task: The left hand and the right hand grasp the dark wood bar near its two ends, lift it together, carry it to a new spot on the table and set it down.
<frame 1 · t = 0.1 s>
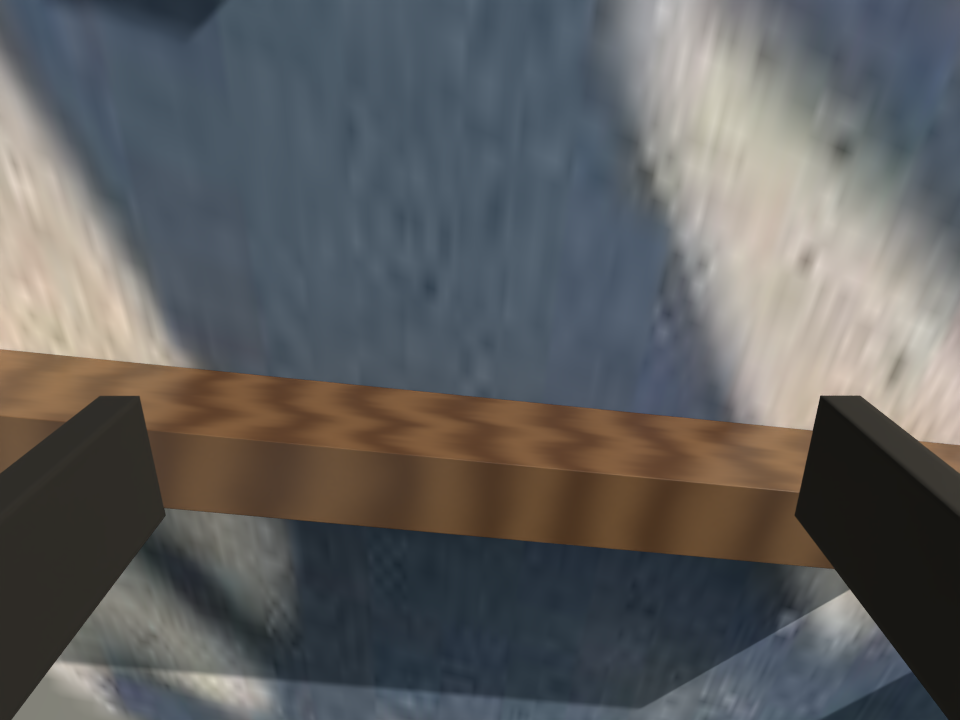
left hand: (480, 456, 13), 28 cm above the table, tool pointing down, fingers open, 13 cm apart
bar: (472, 429, 44), on the table
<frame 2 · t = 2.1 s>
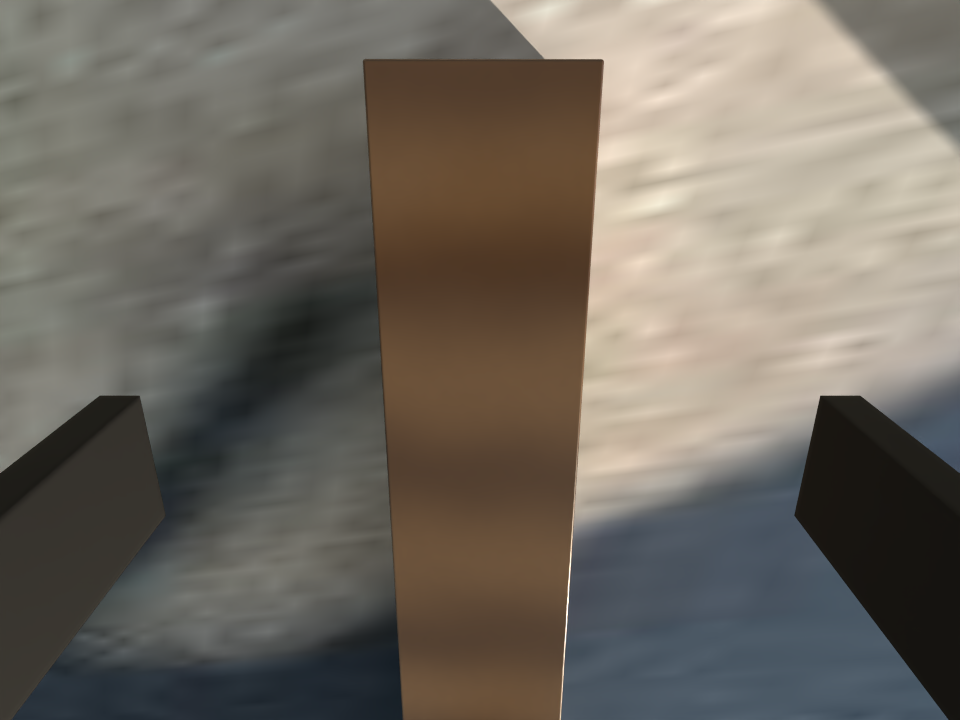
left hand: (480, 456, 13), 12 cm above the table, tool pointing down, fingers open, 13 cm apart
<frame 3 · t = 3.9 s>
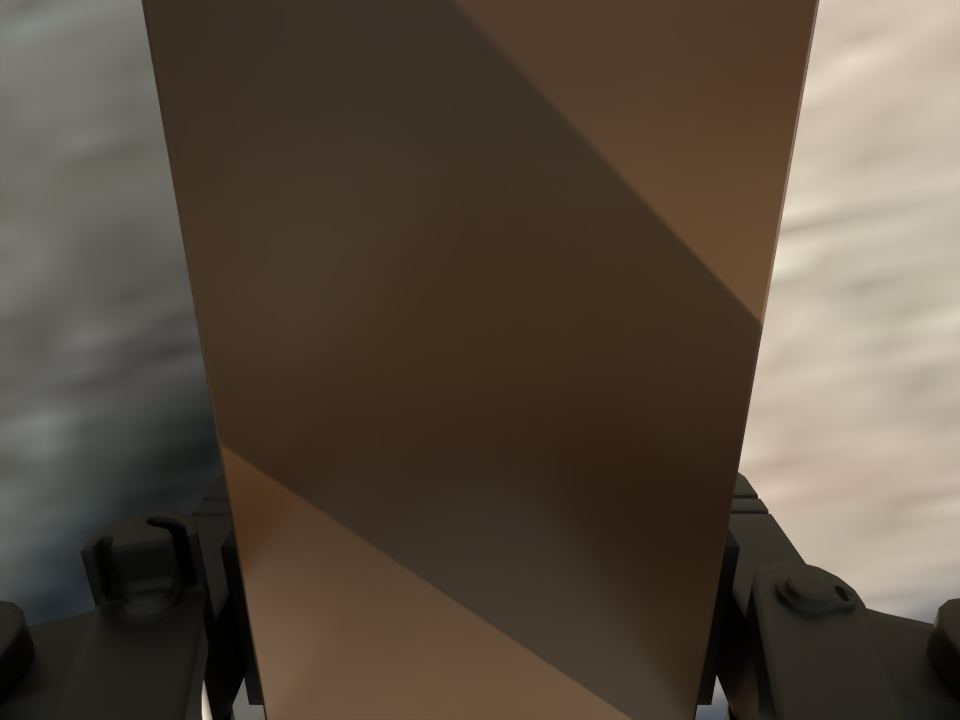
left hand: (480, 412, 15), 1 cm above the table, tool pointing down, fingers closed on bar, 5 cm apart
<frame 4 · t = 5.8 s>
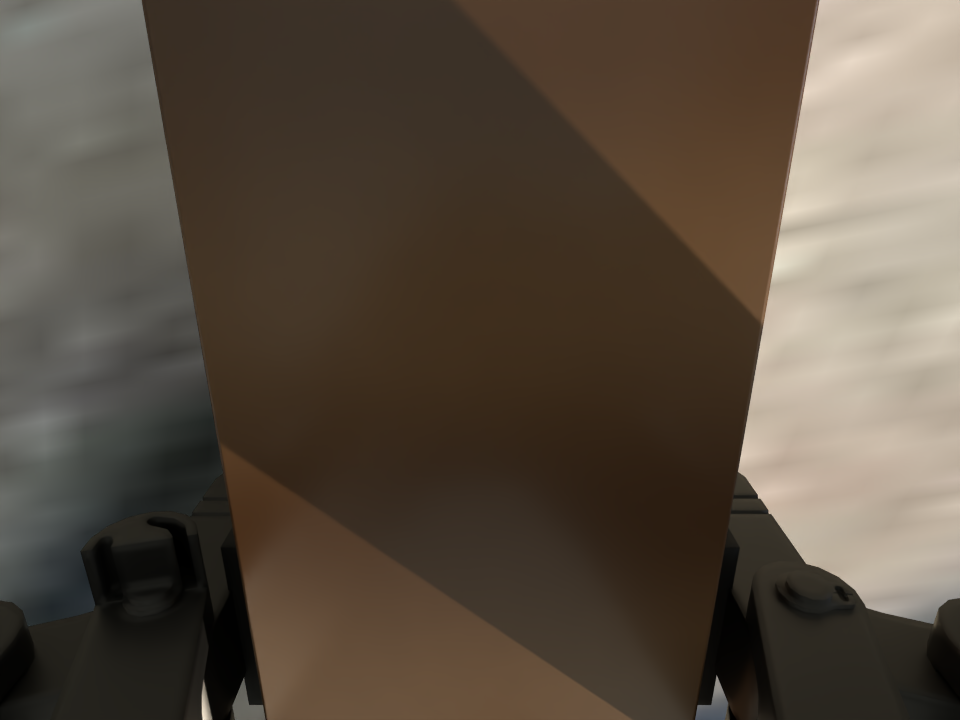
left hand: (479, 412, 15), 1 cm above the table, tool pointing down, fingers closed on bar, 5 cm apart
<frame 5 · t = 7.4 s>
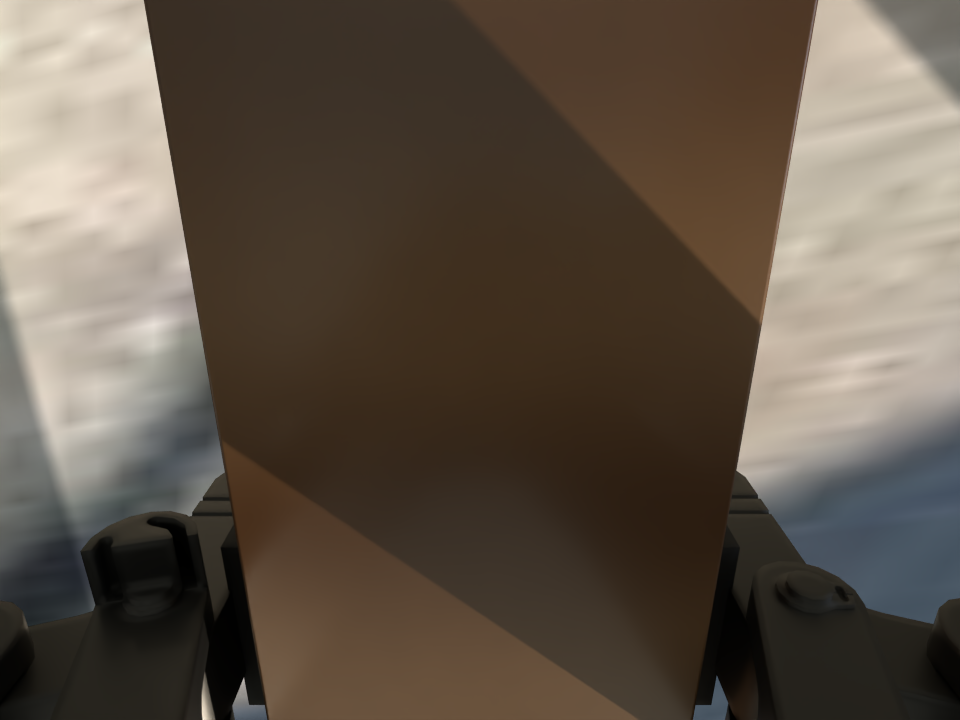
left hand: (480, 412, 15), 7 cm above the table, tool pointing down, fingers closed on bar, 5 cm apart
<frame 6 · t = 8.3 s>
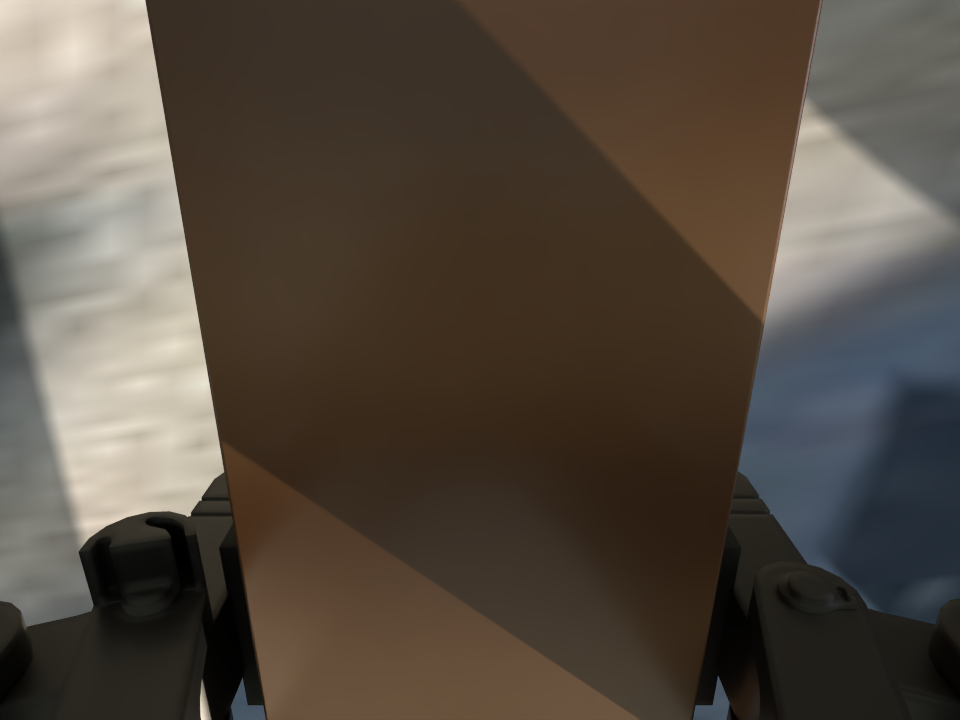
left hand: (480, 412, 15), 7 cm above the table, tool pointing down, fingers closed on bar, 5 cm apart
when the left hand's fingers open (2 cm above the table, at t = 10.9 s): bar drops 1 cm, on the table.
when the right hand's fingers open (5 cm above the table, at t = 11.1 s): bar stays where it is, on the table.
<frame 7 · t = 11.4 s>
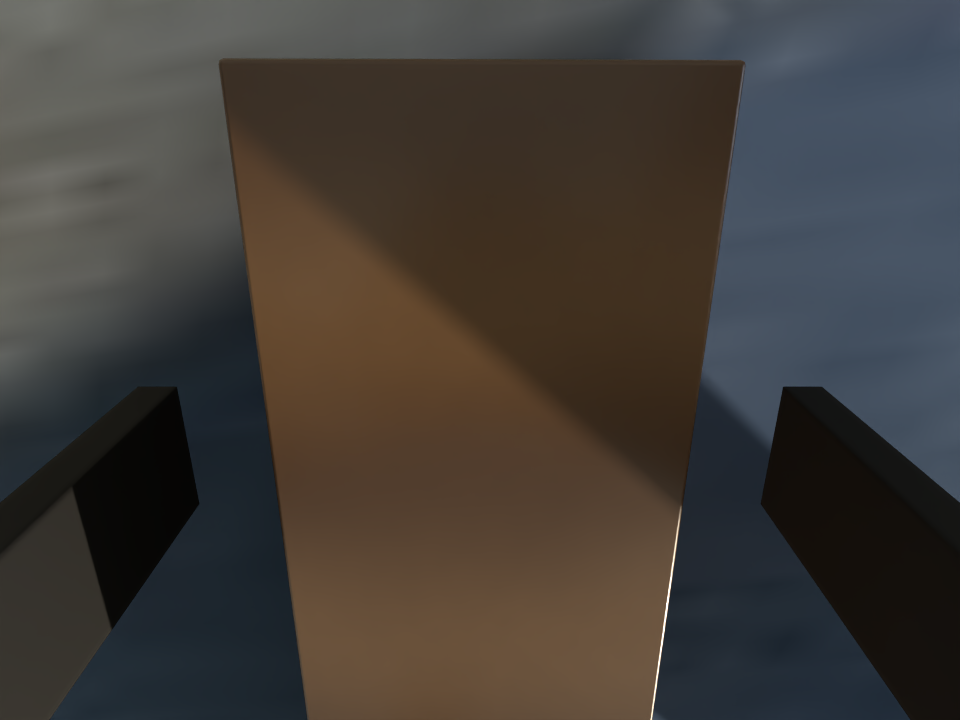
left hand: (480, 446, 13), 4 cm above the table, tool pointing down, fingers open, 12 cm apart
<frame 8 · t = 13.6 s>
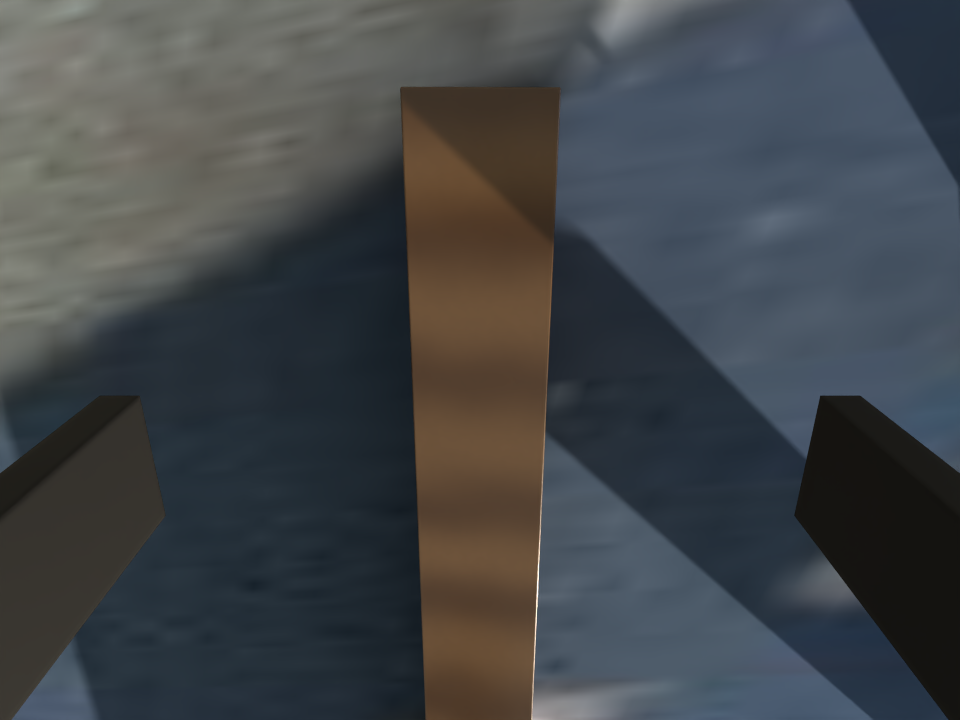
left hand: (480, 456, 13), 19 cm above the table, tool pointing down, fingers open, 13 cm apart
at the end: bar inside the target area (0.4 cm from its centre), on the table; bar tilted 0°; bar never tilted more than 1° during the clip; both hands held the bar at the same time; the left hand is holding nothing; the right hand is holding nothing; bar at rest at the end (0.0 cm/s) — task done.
